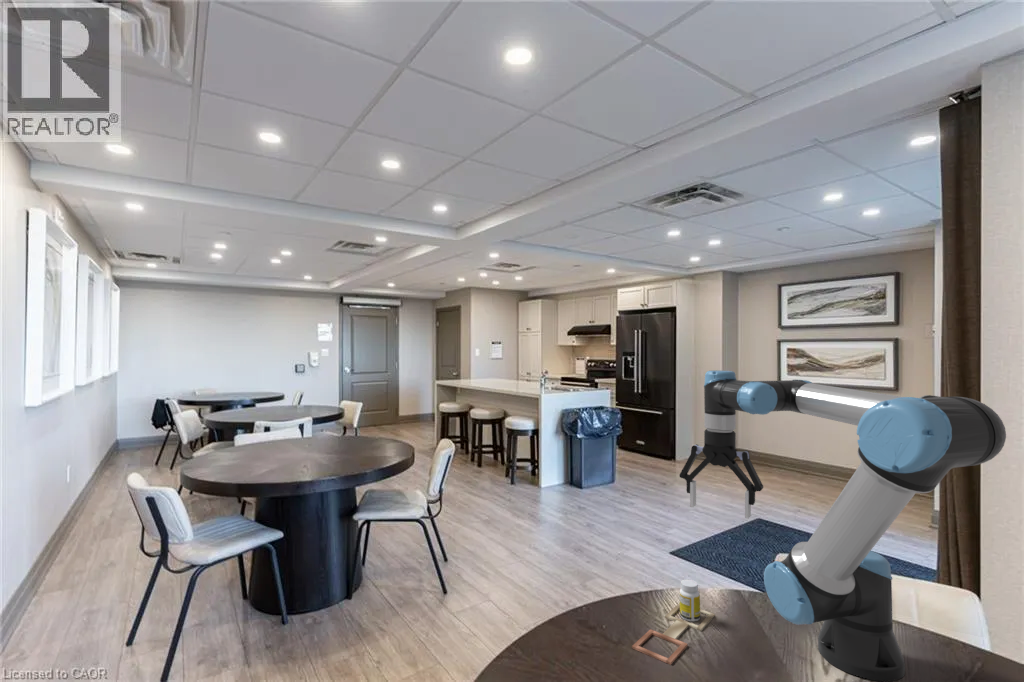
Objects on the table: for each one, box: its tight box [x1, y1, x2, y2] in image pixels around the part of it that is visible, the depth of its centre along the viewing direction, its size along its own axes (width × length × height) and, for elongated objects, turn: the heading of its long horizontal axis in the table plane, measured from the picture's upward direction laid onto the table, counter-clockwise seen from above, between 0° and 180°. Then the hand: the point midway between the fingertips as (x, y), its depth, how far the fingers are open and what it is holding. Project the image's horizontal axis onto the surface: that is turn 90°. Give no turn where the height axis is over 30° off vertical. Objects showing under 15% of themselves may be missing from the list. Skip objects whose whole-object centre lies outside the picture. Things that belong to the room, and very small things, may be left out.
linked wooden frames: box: [631, 602, 716, 666], centre depth 116 cm, size 9×26×1 cm, turn 138°
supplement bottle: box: [679, 579, 701, 623], centre depth 123 cm, size 5×5×8 cm
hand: (719, 511), depth 128 cm, fingers open, 13 cm apart
